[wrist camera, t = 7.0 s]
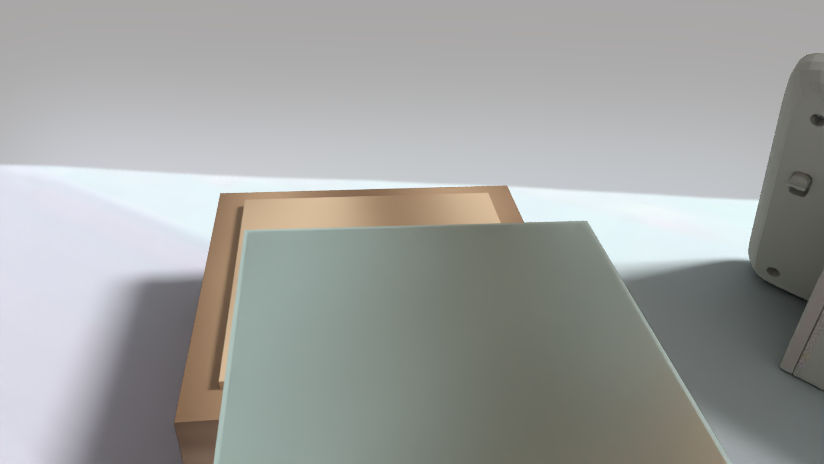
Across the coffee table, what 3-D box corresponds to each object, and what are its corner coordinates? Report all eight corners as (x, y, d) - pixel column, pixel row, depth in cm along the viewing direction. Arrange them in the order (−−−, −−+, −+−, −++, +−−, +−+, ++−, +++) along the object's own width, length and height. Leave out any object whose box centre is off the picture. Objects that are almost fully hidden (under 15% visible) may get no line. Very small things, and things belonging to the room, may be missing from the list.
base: (195, 520, 19) (172, 414, 17) (231, 278, 28) (219, 186, 26) (577, 488, 21) (606, 386, 18) (496, 267, 30) (507, 179, 27)
